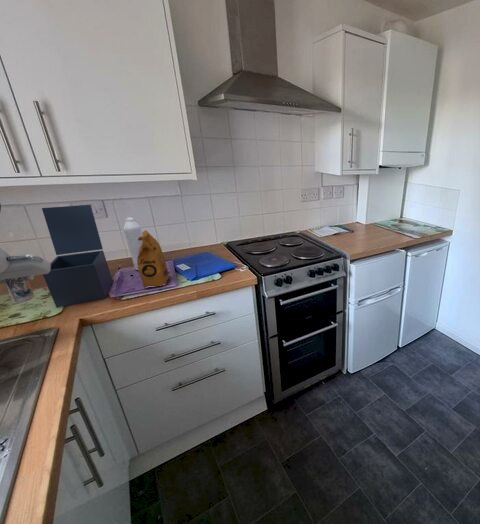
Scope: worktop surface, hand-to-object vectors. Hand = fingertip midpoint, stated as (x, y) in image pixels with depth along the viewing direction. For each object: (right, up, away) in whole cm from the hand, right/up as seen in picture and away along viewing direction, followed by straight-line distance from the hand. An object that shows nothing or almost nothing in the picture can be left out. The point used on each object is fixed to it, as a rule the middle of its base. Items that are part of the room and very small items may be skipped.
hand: (16, 279), depth 91 cm
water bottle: (+3, +2, +52) cm, 52 cm away
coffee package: (+18, -4, +38) cm, 42 cm away
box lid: (-9, +18, +28) cm, 35 cm away
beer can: (0, -7, +2) cm, 7 cm away
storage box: (-4, -7, +29) cm, 30 cm away
